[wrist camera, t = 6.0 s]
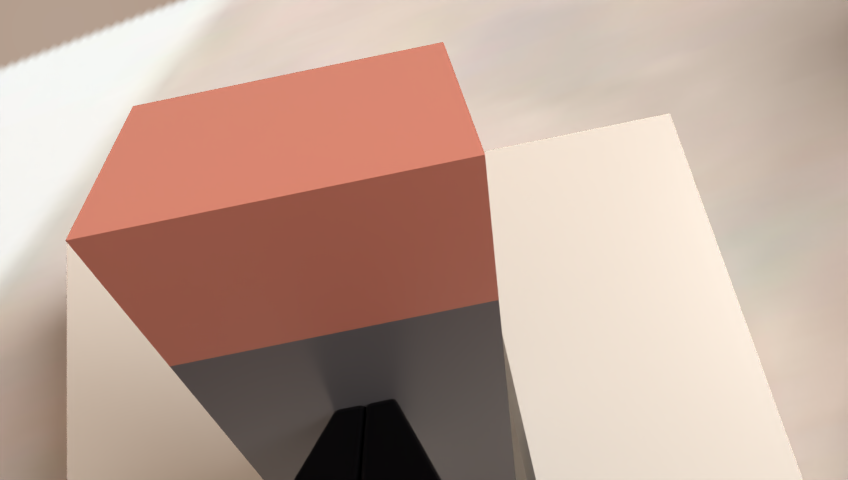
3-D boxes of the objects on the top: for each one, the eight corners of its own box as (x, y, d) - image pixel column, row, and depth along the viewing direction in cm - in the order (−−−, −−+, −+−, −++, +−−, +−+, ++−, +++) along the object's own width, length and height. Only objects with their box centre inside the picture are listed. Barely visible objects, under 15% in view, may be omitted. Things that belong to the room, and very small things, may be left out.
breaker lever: (523, 559, 12) (485, 155, 5) (356, 592, 12) (66, 241, 5) (498, 456, 14) (443, 42, 7) (352, 485, 14) (133, 106, 7)
